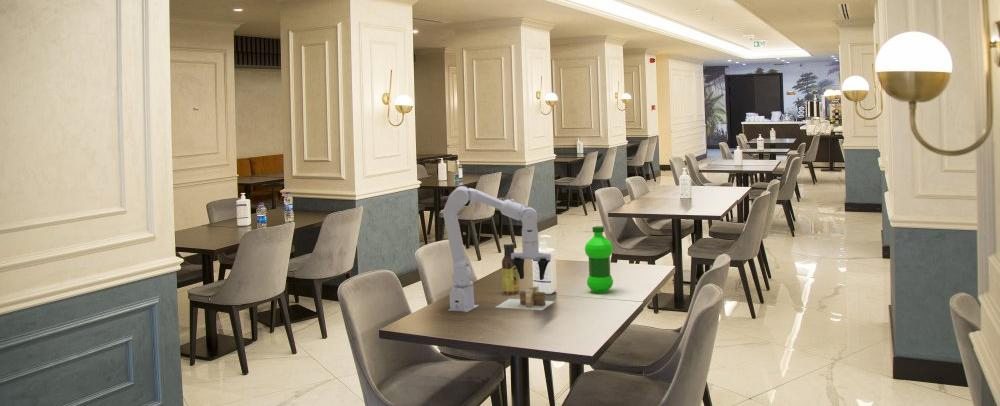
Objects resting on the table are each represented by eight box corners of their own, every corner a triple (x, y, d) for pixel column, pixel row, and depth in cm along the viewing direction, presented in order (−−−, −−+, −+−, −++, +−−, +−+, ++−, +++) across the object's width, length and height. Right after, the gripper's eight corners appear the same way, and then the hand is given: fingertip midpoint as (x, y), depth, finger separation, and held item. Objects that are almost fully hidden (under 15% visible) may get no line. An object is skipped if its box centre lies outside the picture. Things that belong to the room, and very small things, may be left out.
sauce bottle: (517, 296, 287) (515, 245, 285) (501, 296, 288) (499, 245, 286) (520, 292, 293) (518, 242, 291) (504, 292, 294) (502, 242, 292)
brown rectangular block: (543, 306, 268) (543, 293, 268) (520, 304, 272) (519, 292, 271) (545, 304, 270) (544, 292, 269) (522, 303, 274) (521, 291, 273)
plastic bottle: (595, 287, 296) (593, 224, 293) (619, 290, 289) (617, 226, 286) (581, 293, 288) (579, 228, 285) (605, 296, 281) (603, 229, 278)
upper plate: (530, 307, 267) (530, 290, 266) (526, 307, 268) (525, 290, 267) (539, 302, 274) (538, 286, 273) (534, 301, 275) (533, 285, 274)
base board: (542, 311, 263) (541, 310, 262) (495, 308, 270) (494, 307, 270) (554, 302, 274) (554, 301, 274) (509, 300, 282) (509, 298, 282)
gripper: (553, 240, 269) (554, 277, 271) (515, 239, 275) (517, 275, 277) (546, 243, 263) (547, 281, 264) (508, 242, 269) (509, 280, 270)
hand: (531, 279), depth 270 cm, fingers open, 7 cm apart
